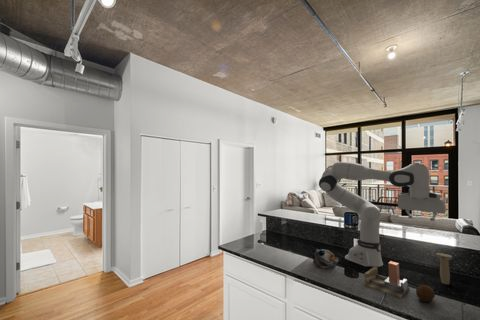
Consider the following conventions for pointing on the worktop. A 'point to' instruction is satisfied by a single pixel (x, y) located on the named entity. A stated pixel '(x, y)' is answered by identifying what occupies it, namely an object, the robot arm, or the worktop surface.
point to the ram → (395, 277)
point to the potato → (425, 293)
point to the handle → (444, 267)
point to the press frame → (381, 283)
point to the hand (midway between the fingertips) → (421, 219)
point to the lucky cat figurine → (324, 258)
